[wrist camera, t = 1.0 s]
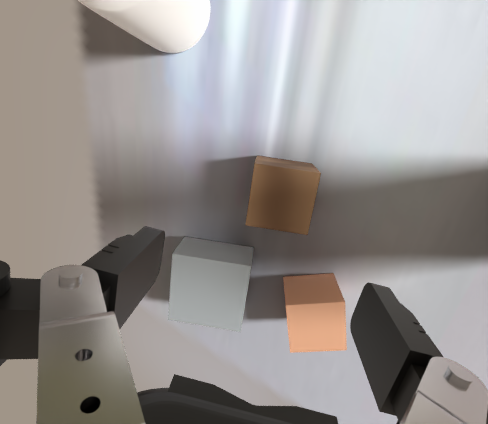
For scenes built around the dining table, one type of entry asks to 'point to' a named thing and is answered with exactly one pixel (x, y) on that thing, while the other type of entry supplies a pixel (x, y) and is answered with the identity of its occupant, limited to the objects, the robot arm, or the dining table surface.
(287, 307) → the terracotta cube
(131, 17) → the can
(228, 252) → the base block
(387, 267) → the dining table surface
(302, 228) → the walnut cube
